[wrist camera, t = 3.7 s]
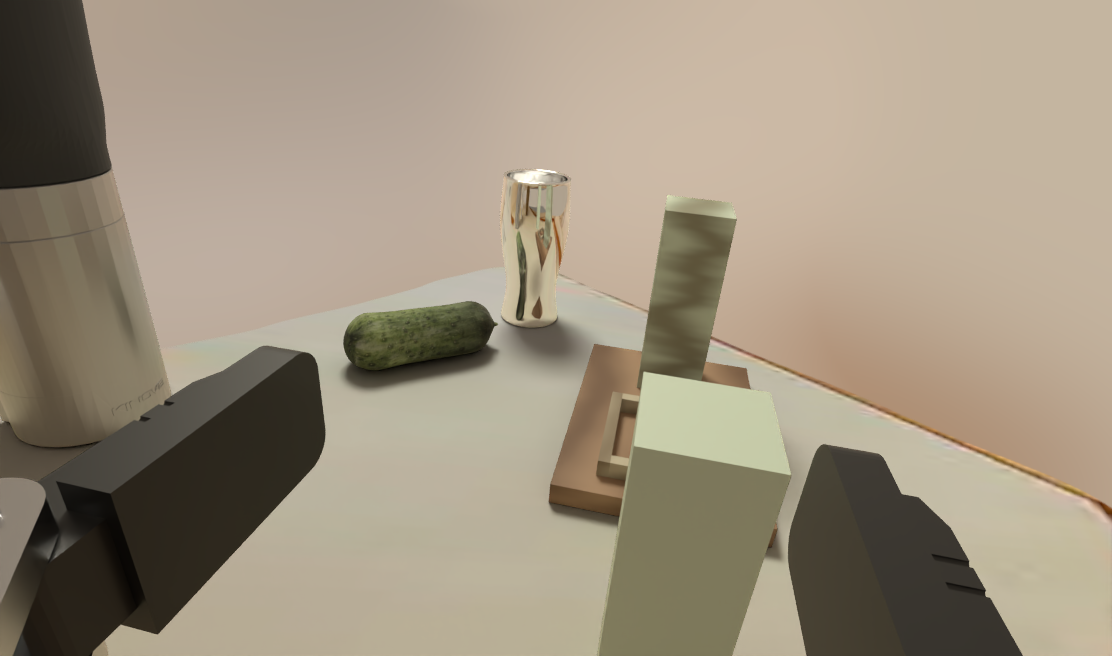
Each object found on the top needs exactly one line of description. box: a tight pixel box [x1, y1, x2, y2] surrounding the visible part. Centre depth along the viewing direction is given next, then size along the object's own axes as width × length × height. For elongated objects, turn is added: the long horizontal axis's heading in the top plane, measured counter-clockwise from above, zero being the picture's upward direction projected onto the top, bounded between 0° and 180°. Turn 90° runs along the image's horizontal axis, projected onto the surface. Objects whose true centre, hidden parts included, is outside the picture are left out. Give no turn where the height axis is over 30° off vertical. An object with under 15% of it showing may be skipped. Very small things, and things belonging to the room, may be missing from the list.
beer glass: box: [500, 169, 571, 328], centre depth 59 cm, size 7×7×15 cm
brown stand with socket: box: [549, 195, 777, 547], centre depth 41 cm, size 14×20×16 cm
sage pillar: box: [597, 372, 791, 656], centre depth 24 cm, size 5×5×15 cm
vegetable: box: [343, 301, 498, 370], centre depth 52 cm, size 14×5×5 cm, turn 118°
